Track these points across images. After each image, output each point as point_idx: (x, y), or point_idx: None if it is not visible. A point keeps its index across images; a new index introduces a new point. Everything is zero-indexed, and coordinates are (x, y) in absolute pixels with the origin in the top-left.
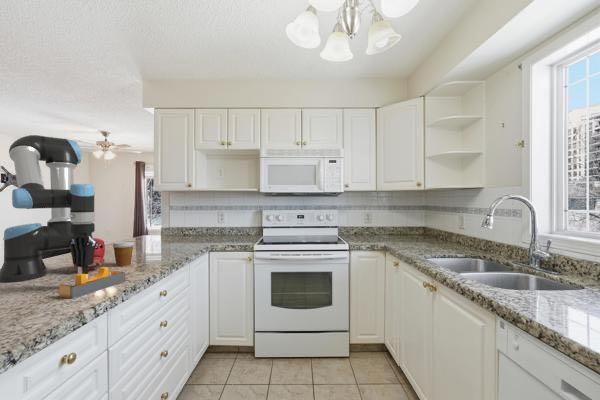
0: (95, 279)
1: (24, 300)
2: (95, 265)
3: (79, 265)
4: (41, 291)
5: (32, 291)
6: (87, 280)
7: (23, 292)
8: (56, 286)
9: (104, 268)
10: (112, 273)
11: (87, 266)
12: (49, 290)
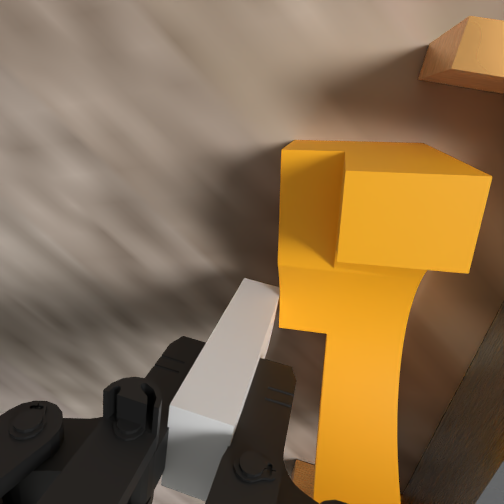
0: (366, 294)
1: (157, 498)
2: None
3: (154, 483)
4: (79, 380)
5: (30, 378)
6: (396, 442)
7: (6, 390)
8: (53, 288)
9: (466, 268)
10: (474, 76)
11: (281, 470)
12: (104, 365)
